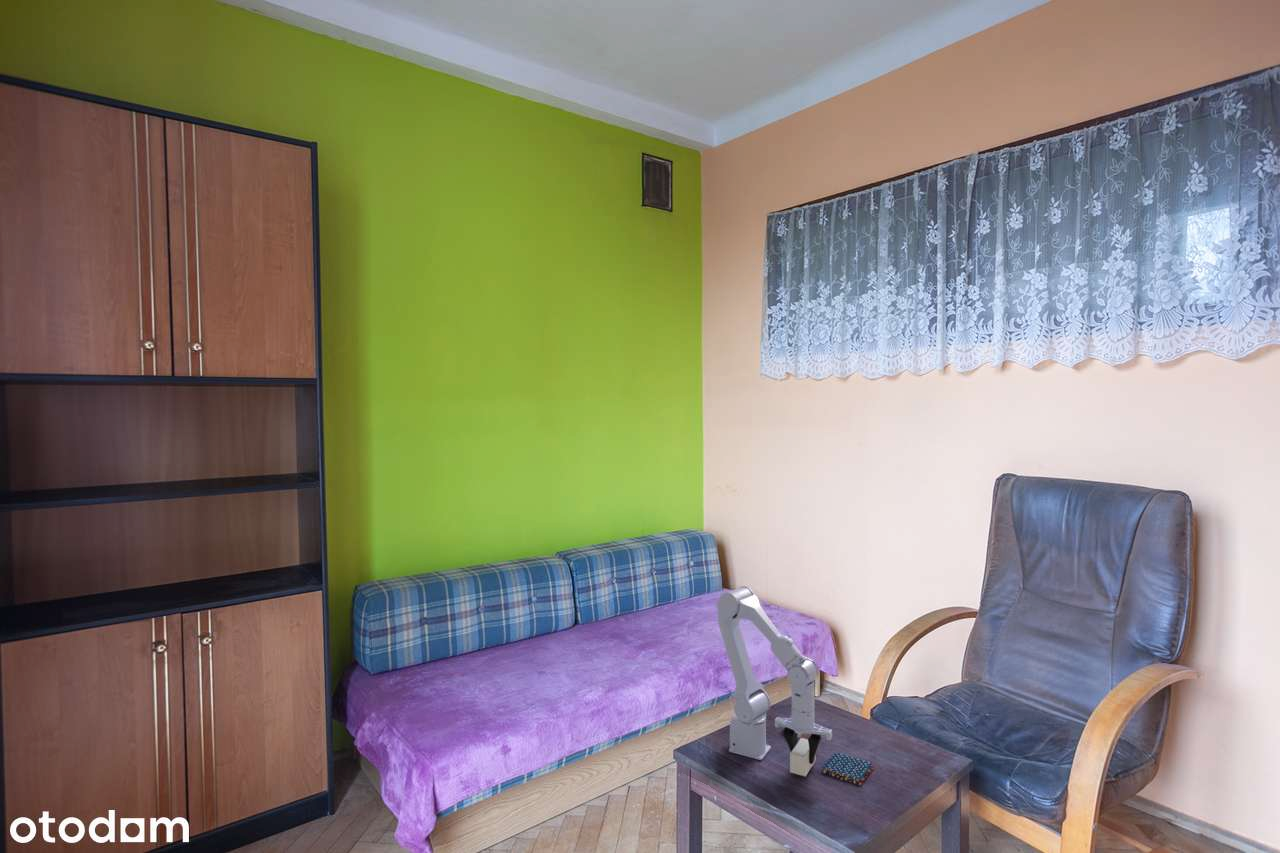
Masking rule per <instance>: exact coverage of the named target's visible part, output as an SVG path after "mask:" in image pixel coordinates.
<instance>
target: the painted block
mask: <svg viewBox="0 0 1280 853" xmlns="http://www.w3.org/2000/svg"><path fill="white" fill-rule="evenodd" d="M816 753H817V752H816ZM816 753H815V759H814V762H813V764H810V763H809V743H808V740H807V739H803V738H801V739H800V740H799V741H797V744H796V746H795V747H794V749H793V750H792V752H790V753H789V773H791V774H795V775H799V776H802V777H807V775H808V773H809V772H810V771H811V768H812V767H813V765H814V763H815V762H816V758H817V757H816V756H817V755H816Z"/></svg>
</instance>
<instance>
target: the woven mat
mask: <svg viewBox="0 0 1280 853" xmlns="http://www.w3.org/2000/svg"><path fill="white" fill-rule="evenodd" d="M821 768H822V769H821V771H822V773H823V774H828V775H829V776H832V777H835V776H836V778H840V780H842V781H843V780H844V781H849V782H850V783H851V782H853V784H858V785H859V786H861V785H862V784H863V782H865V781H866V779H867V778H868V776H869V774H872V771H873V769H874V765H873V763H872V762H870V761H867V760H862V759H859V758H856V757H852V756H850V755H846V754H842V753H840V752H837V753H836V752H835V753H833V755H831V756H830V757H829V758H828V760H826V763H825V762H824V765H822V766H821Z"/></svg>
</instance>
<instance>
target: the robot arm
mask: <svg viewBox="0 0 1280 853" xmlns="http://www.w3.org/2000/svg"><path fill="white" fill-rule="evenodd" d="M715 604H716V607H717V610H718V613H717V623H718V626H719V627H718V628H719V631H720V633H721V636H722V641H723V644H724V646H725V651H726V655H727V657H728V661H729V664H730V667H731V668H730V669H731V670H732V675H733V678H734V682H735V684H736V686H735V689H734V692H733V694H732V698H733V712H734V714H733V715H732V717H731V719H730V723H729V749H728V752H729V753H734V754H737V755H740V756H744V757H747V758H750V759H751V758H752V759H755V760H758V761H762V760H763V759H764V758H765V756H766V755H767V754H768V753H769V752H770V750H771V748H772V746H771V745H769V744H767V723H766V722H767V720H766V719H767V712H768V711H769V710H770V708H771V702H772V701H771V699H770V697H769V694H768V693H767V692H766V690H765V689H764V685H763V684H762V683H761V682H759V681H758V680H757V679H756V677H755V673H754V670H753V666H752V663H751V660H750V657H749V653H748V650H747V647H746V644H745V641H744V640H745V639H744V637H743V633H742V629H741V626H740V622H741V620H743V619H744V620H749V621H751V623H752V624H753V625H754V626H755V627H756V628H757V629H758V631H759V632H760V633H762V635H763V636H764V637H765V638H766V639H767V640H768V642H769V643H770V651H771V653H772V654H773V655H774V657H776V658H777V660H778V661H779V662H780V663H781V665H782V666H783V667H784V669H785V670H786V671H787V672H786V676H787V681H789V683H790V688H791V690H790V691H791V716H792V719H790V718H789V717H780V716H777V717H776V718H775V719H774V728H783V729H784V728H785V729H784V731H783V732H782V733H783V734H782V735H783V737H784V739H785V741H786V743H787V746H788V748H789V751H790V753H791V752H792V750H793V749H794V747H795V746H796V744H797V743H798V741H797V733H798V734H803V733H807V734H811V736H810V737H809V739H808V743H809V763H810V764H813V762H814V759H815V753H817V749H818V747H819V744H820V742H821V741H822V740H821V739H822V738H824V739H826V740H827V741H831V740H832V738H833V729H830V728H827V727H824V726H822V725H819V724H817V723H816V722H815V680H816V679H817V678H818V676H819V669H818V667H817V664H816V663H815V661H814V660H813V659H811V658H809V657H806V656H805V655H804V654H802V652H801V651H800V650H799V648H798V647H797V645H795V644H794V643H795V642H794V640H793V639H792V638H789V636H787V635H783V634H781V633H780V632H779V630H778V629H777V627H776V626H775V625H774V623H773V622H772V621H771V619H770V617H768V615H767V613H766V612H765V610H764V609H763V607H762V606H761V604H760V601H759V597H758V596H757V595H756V594H755V593H754V591H753V590H752V589H751V588H750V587H749V586H745V585H741V586H739V587H738V588H735V589H732V590H729V591H725V592H723V593H721V594H720V596H719V597H718V599H717V601H716V602H715ZM814 763H815V762H814ZM813 765H814V764H813Z"/></svg>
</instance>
